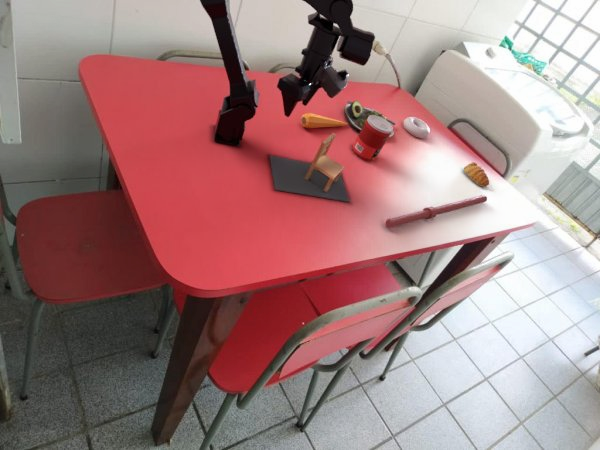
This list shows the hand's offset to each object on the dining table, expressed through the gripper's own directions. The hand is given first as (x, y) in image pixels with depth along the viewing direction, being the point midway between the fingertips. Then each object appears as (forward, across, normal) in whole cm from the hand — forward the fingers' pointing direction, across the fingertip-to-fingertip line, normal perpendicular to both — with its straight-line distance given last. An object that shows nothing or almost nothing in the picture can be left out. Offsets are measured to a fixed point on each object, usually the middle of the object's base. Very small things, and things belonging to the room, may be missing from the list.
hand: (295, 110), depth 99 cm
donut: (+13, +57, -25) cm, 64 cm away
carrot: (+12, +28, -4) cm, 31 cm away
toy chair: (+13, 0, -14) cm, 19 cm away
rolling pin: (+13, +17, -45) cm, 50 cm away
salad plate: (+13, +41, -11) cm, 45 cm away
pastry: (+13, +50, -51) cm, 73 cm away
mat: (+13, -3, -11) cm, 17 cm away
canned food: (+13, +24, -17) cm, 32 cm away
